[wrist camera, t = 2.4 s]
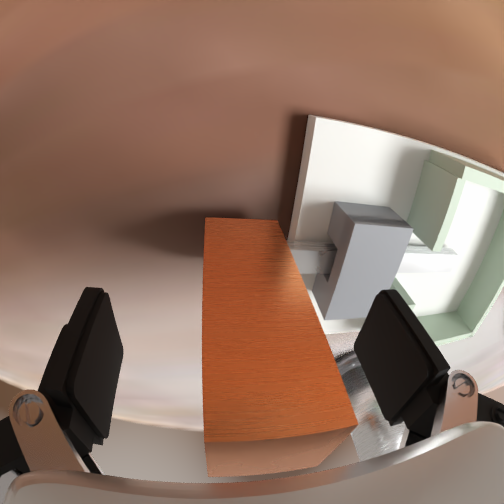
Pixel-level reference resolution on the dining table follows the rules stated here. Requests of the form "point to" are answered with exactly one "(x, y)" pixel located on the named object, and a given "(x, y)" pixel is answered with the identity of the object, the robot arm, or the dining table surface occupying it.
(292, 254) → the pin
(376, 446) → the grey rounded piece
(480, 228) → the dock
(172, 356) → the dining table surface
